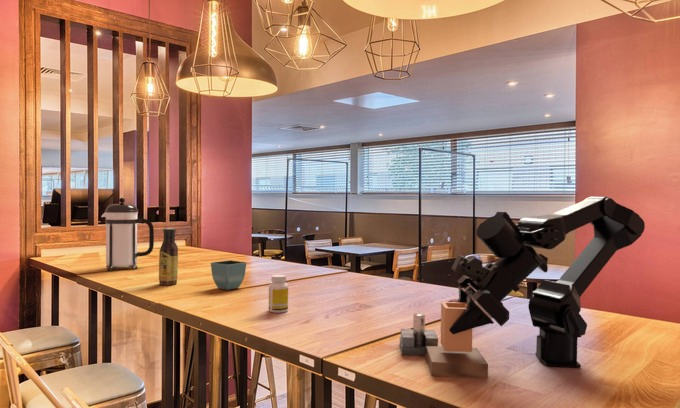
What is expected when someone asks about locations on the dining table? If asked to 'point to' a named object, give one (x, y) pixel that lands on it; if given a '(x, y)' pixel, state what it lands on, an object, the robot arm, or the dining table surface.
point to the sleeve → (448, 318)
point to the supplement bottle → (278, 294)
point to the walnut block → (456, 363)
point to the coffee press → (124, 235)
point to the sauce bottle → (168, 258)
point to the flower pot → (228, 273)
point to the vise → (417, 337)
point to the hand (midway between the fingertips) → (448, 328)
